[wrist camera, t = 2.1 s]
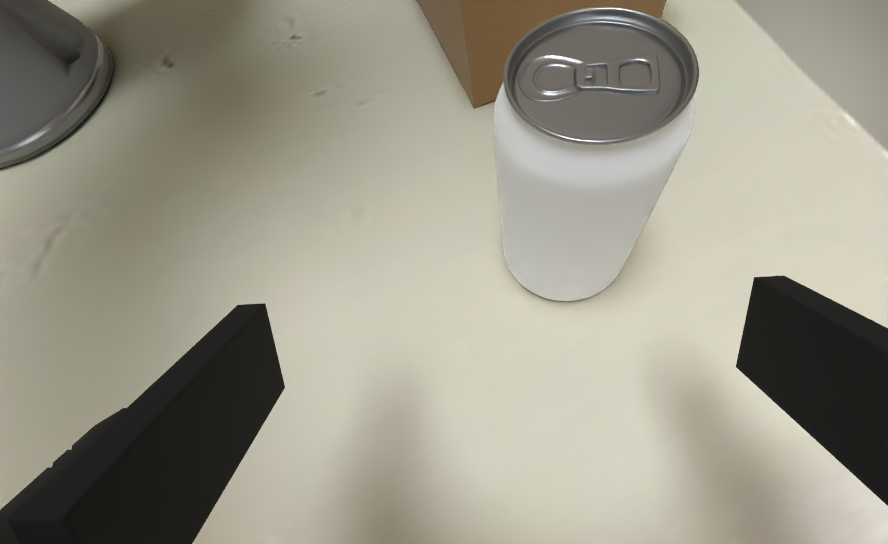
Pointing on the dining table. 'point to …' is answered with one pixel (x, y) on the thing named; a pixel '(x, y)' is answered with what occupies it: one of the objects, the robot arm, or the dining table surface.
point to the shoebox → (499, 33)
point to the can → (588, 143)
